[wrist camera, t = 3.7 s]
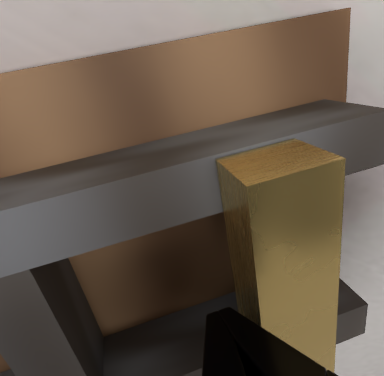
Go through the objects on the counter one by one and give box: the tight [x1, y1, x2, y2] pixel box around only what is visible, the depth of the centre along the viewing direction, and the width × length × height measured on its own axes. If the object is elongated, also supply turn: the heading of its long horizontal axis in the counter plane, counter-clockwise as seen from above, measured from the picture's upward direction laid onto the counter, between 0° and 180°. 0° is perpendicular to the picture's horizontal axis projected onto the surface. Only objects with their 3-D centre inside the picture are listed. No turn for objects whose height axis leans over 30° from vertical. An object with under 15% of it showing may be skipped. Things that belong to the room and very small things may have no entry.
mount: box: [0, 8, 384, 376], centre depth 11 cm, size 18×16×4 cm
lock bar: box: [215, 138, 346, 373], centre depth 9 cm, size 2×10×2 cm, turn 11°
